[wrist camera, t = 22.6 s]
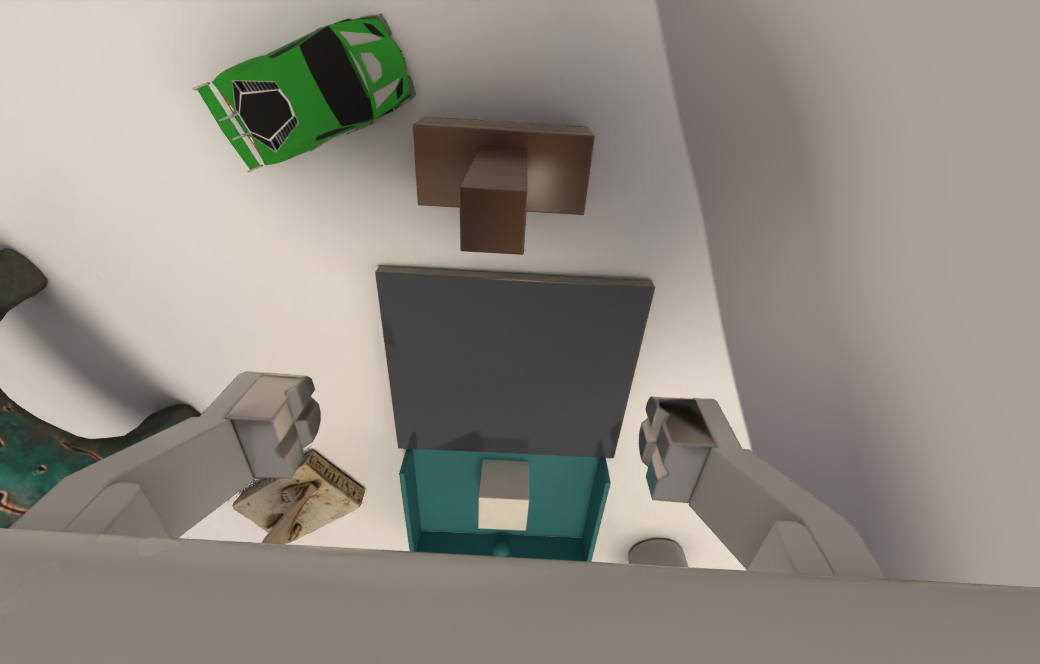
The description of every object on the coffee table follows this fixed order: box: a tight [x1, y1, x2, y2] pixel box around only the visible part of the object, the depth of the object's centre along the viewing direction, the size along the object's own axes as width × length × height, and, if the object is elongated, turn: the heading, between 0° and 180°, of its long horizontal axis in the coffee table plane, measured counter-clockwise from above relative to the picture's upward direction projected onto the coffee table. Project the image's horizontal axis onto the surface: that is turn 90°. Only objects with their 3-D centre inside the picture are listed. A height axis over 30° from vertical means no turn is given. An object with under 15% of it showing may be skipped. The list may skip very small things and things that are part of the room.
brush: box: [413, 117, 594, 255], centre depth 21 cm, size 9×4×11 cm, turn 87°
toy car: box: [193, 14, 416, 172], centre depth 23 cm, size 10×5×2 cm, turn 110°
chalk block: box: [478, 459, 529, 530], centre depth 38 cm, size 4×4×4 cm
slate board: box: [375, 266, 655, 458], centre depth 33 cm, size 18×16×1 cm
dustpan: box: [399, 449, 610, 562], centre depth 43 cm, size 23×17×3 cm
